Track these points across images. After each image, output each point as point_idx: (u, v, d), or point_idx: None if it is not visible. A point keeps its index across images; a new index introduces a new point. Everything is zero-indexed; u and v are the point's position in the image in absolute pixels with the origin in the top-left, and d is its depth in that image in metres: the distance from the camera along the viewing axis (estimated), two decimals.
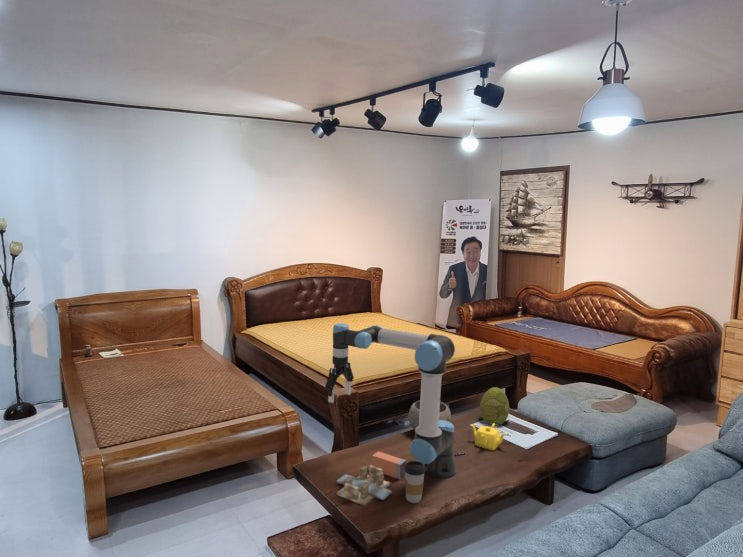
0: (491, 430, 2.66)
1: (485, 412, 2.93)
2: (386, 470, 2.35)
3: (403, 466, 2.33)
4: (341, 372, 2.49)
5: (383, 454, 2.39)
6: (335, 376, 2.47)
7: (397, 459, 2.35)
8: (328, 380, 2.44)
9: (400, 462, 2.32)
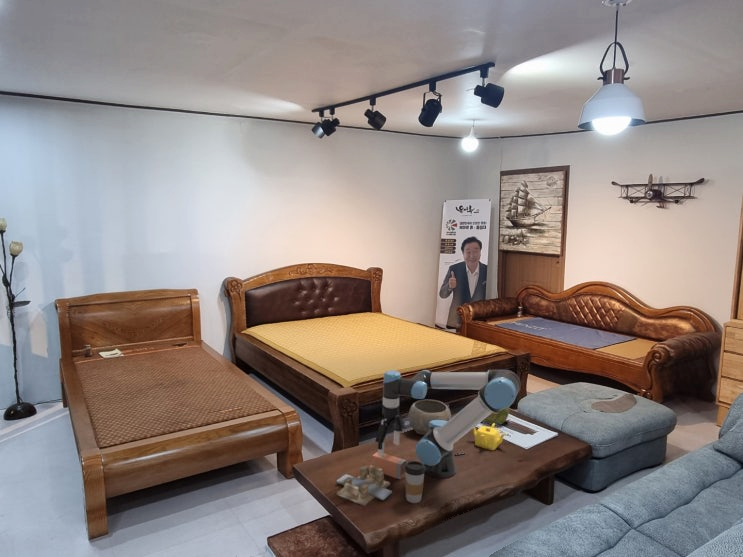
0: (491, 430, 2.66)
1: None
2: (386, 470, 2.35)
3: (403, 466, 2.33)
4: (391, 423, 2.33)
5: None
6: (385, 428, 2.30)
7: (397, 459, 2.35)
8: (379, 433, 2.27)
9: (400, 462, 2.32)
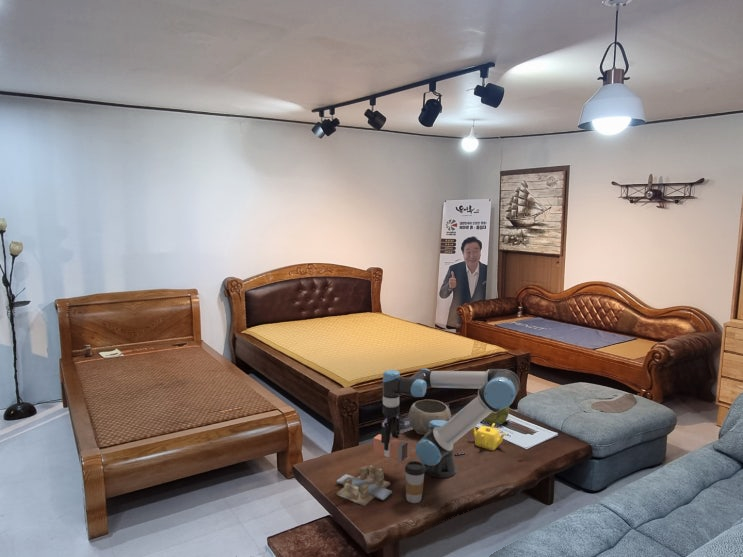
0: (491, 430, 2.66)
1: None
2: None
3: (404, 448, 2.31)
4: (392, 422, 2.33)
5: None
6: (388, 428, 2.31)
7: (398, 441, 2.34)
8: (382, 434, 2.29)
9: (401, 444, 2.31)
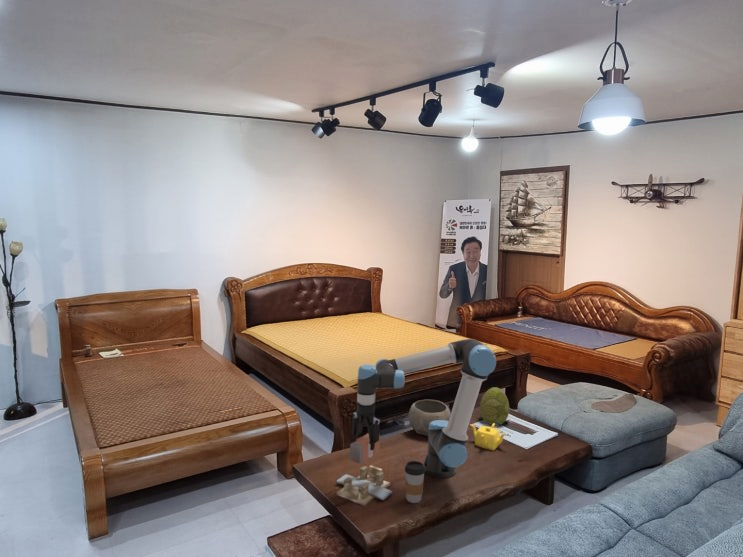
0: (491, 430, 2.66)
1: (485, 412, 2.93)
2: None
3: (355, 451, 2.13)
4: (363, 421, 2.17)
5: None
6: None
7: (362, 443, 2.15)
8: None
9: (354, 444, 2.14)
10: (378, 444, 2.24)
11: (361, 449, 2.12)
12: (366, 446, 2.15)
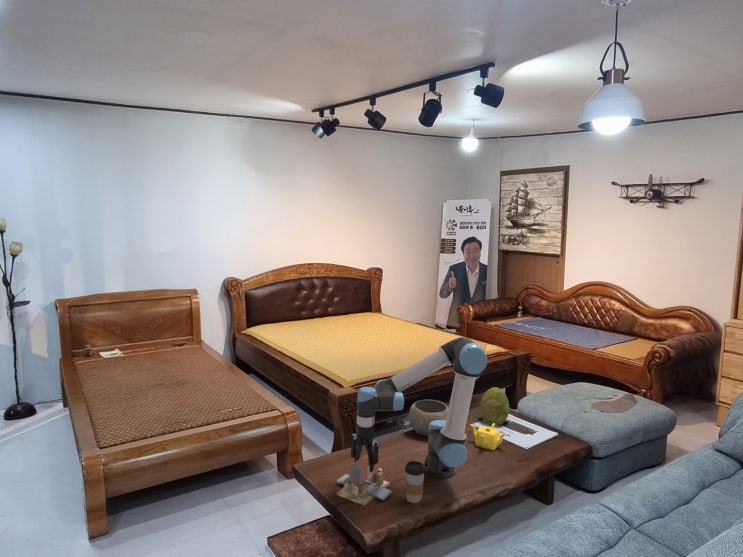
0: (491, 430, 2.66)
1: (485, 412, 2.93)
2: None
3: (354, 473, 2.14)
4: (362, 443, 2.18)
5: None
6: None
7: (361, 465, 2.17)
8: None
9: (354, 466, 2.15)
10: (378, 465, 2.25)
11: (360, 471, 2.13)
12: (365, 468, 2.17)
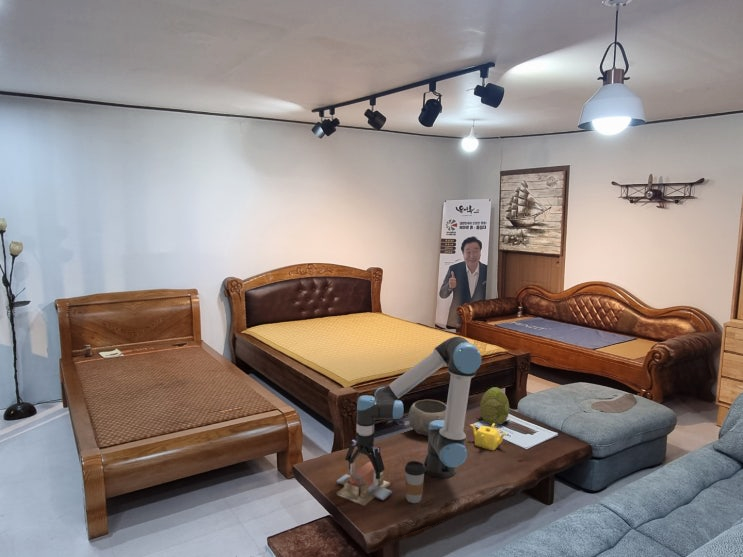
0: (491, 430, 2.66)
1: (485, 412, 2.93)
2: None
3: (355, 482, 2.15)
4: (362, 451, 2.19)
5: (372, 467, 2.23)
6: (356, 451, 2.21)
7: (361, 474, 2.17)
8: None
9: (354, 475, 2.16)
10: None
11: (360, 480, 2.14)
12: (365, 477, 2.17)
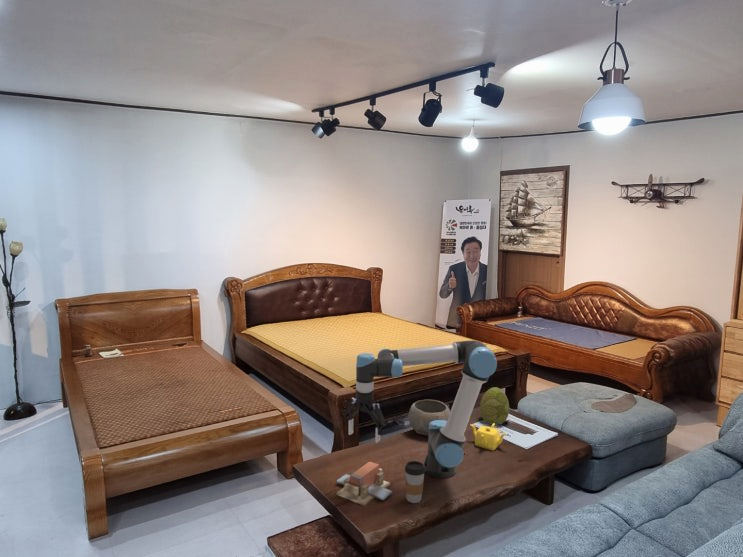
0: (491, 430, 2.66)
1: (485, 412, 2.93)
2: None
3: (355, 482, 2.15)
4: (362, 408, 2.20)
5: (372, 467, 2.23)
6: (355, 408, 2.22)
7: (361, 474, 2.17)
8: None
9: (354, 475, 2.16)
10: None
11: (360, 480, 2.14)
12: (365, 477, 2.17)
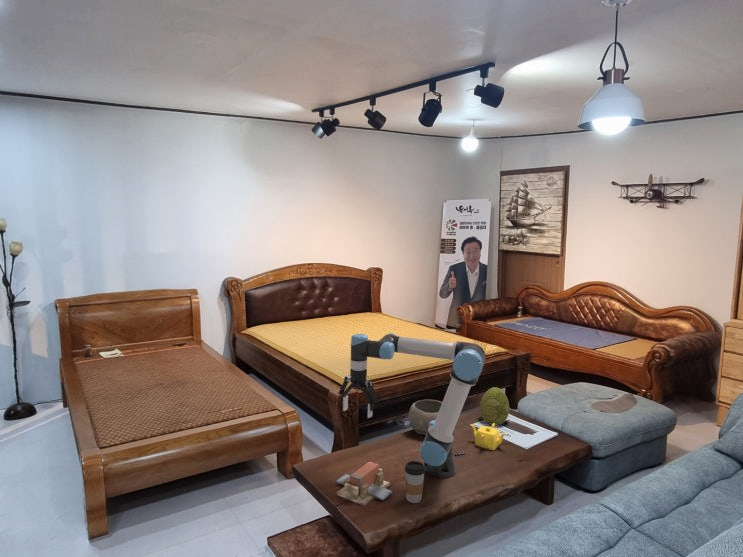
0: (491, 430, 2.66)
1: (485, 412, 2.93)
2: None
3: (355, 482, 2.15)
4: (356, 386, 2.34)
5: (372, 467, 2.23)
6: None
7: (361, 474, 2.17)
8: None
9: (354, 475, 2.16)
10: None
11: (360, 480, 2.14)
12: (365, 477, 2.17)
